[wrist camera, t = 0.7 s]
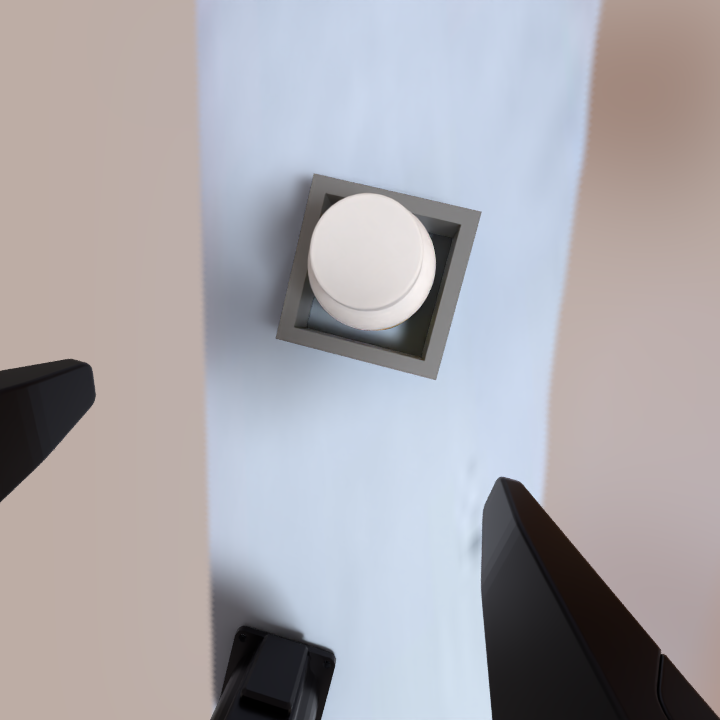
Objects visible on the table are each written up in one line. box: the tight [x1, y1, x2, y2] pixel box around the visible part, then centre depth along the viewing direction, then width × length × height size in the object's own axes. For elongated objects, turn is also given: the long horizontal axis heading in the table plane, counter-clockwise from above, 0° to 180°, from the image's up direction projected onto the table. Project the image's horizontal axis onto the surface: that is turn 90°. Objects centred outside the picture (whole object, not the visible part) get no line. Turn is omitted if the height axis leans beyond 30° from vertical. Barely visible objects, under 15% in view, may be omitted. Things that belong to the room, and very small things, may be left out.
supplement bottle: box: [308, 193, 436, 330], centre depth 19 cm, size 5×5×10 cm
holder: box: [276, 174, 481, 380], centre depth 22 cm, size 9×9×3 cm
